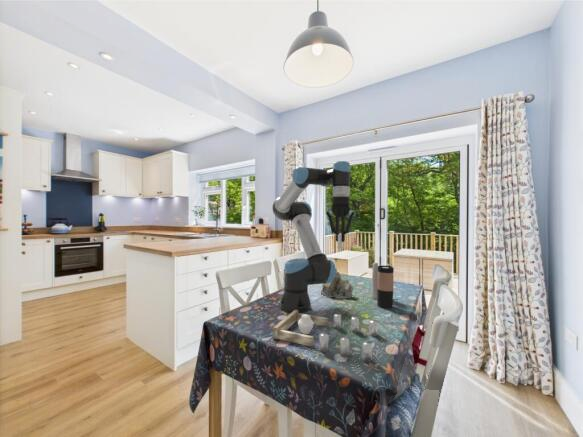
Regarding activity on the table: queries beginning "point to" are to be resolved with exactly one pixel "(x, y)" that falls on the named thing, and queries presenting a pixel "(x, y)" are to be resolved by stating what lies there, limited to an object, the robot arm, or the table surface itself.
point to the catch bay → (292, 336)
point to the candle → (374, 280)
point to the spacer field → (345, 340)
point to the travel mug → (385, 287)
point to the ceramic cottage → (337, 288)
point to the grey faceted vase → (305, 324)
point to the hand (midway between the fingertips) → (340, 249)
